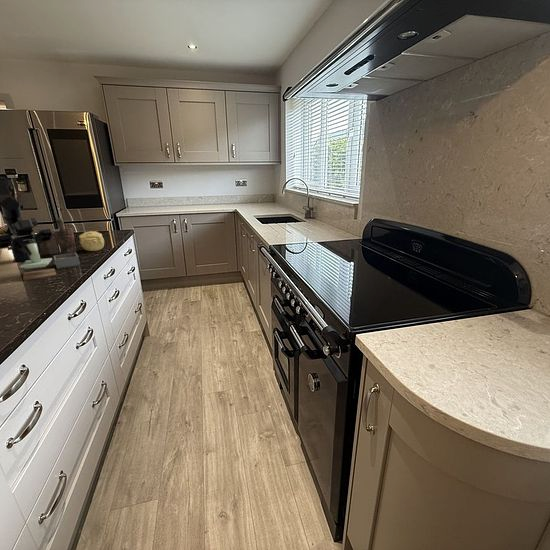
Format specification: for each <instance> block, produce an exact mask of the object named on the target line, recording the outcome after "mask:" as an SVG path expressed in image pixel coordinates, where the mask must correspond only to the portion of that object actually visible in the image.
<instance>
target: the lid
mask: <svg viewBox="0 0 550 550" xmlns="http://www.w3.org/2000/svg"><path fill="white" fill-rule="evenodd" d="M26 245H27V248H28V249H29V250H30V252H31V255H29V257H30V260H26V261H23V263H22V264H21V265H20V266H19V267H20V269H21V268H22V269H24V270H29V269H35V268H46V267H47V266H48V265H49V264H50V263H51V261H53V258H52V257H47V258H41V256H40V253H39V251H38V247H37V243H33V242H32V243H31V242H30V244H26Z"/></svg>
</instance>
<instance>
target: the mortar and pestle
mask: <svg viewBox="0 0 550 550" xmlns="http://www.w3.org/2000/svg"><path fill="white" fill-rule="evenodd" d="M64 224H65V223H64V220H63V219H62V218H61V217H58V218H56V225H57V226H58V228H57V229H54V230H53V231H52V232H53V235H54V239H55V241H56V243H57V245H58V246H60V247H61V248H62V249H61V250H60V254H59V255H62V254H69V253H76V254H77V252H78V251H77V250H76V248H73V245H74V244H75V234H74V229H73V228H71V227H66V228H65V225H64Z"/></svg>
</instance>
